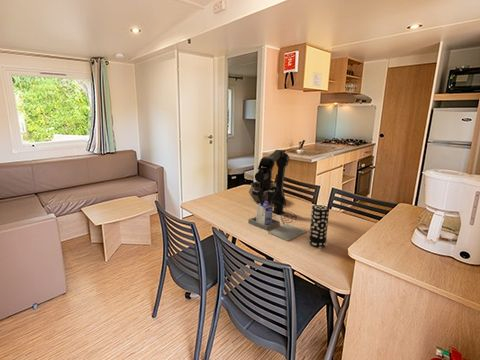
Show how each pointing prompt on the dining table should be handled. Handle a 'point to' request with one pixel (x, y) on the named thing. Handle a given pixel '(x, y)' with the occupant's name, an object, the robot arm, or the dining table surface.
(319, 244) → the spotted tube
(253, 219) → the grey rectangular frame
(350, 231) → the dining table surface
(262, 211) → the ink cartridge box
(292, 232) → the mat
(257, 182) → the dark brown bowl
